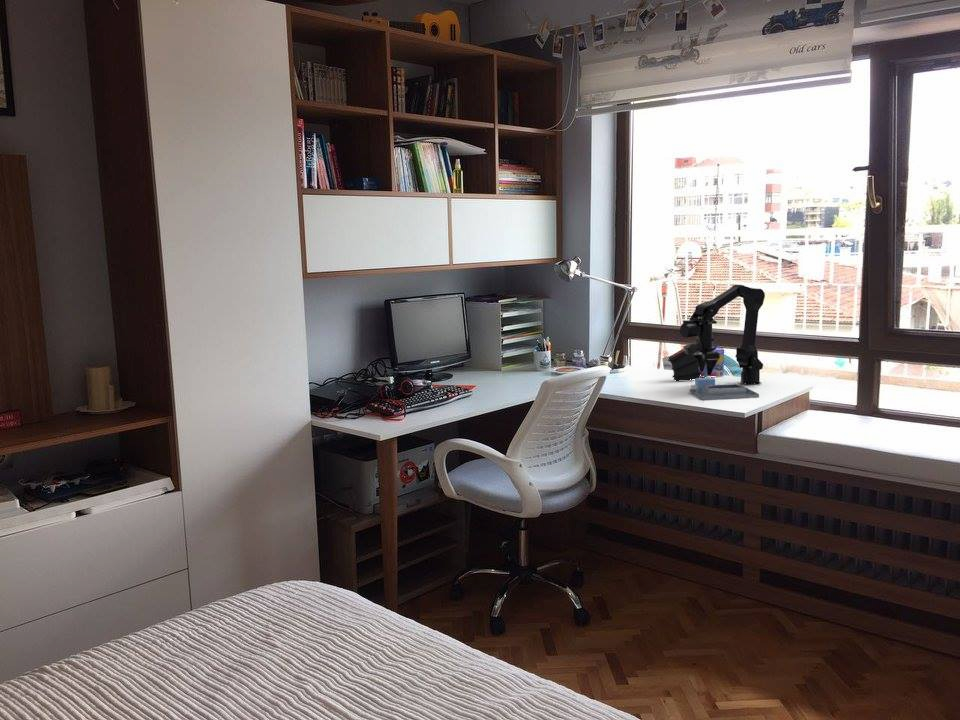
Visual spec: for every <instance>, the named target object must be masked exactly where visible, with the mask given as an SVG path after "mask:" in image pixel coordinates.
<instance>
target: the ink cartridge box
mask: <svg viewBox="0 0 960 720" xmlns="http://www.w3.org/2000/svg"><path fill="white" fill-rule="evenodd" d="M717 346H718V344H716V343H715V344H712V348H714V351H717V352H719V353H720V359H719V360H718V361H717V363H716V365H715V367H714V369H713V371H712V373H711V375H707V370H706V364H705V367H704V370H703V372H701V374H700V375H701V376H704V377H706V376H721V377H724V372H725V371H724V370H725V369H724V365H725V349H723V348H720V347H719V348H718V347H717ZM699 371H700V369H699Z"/></svg>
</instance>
